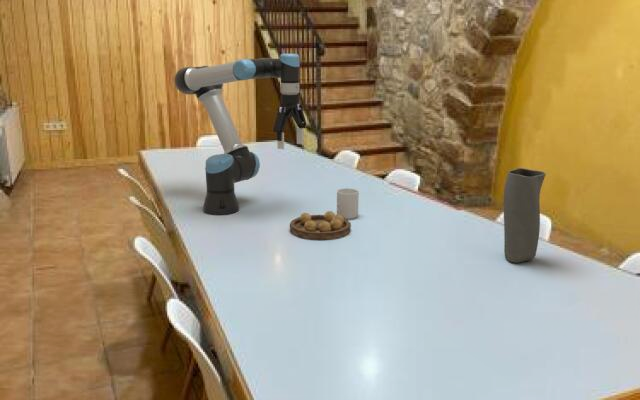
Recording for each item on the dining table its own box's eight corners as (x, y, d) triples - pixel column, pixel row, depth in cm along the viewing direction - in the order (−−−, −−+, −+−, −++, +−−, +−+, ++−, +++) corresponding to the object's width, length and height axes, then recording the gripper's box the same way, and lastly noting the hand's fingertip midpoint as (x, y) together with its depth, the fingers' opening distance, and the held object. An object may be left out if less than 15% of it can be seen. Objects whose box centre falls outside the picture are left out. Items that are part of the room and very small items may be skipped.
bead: (297, 225, 228) (297, 214, 226) (304, 221, 231) (303, 210, 230) (307, 226, 225) (307, 215, 224) (313, 223, 229) (313, 212, 228)
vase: (517, 268, 189) (527, 178, 181) (490, 256, 199) (498, 170, 191) (544, 262, 194) (555, 174, 186) (517, 250, 205) (525, 166, 197)
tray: (278, 233, 222) (278, 226, 221) (311, 218, 241) (311, 211, 240) (330, 244, 210) (330, 237, 209) (360, 227, 229) (360, 220, 228)
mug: (360, 219, 239) (361, 193, 236) (340, 220, 237) (340, 194, 234) (351, 211, 251) (352, 186, 248) (332, 212, 248) (332, 187, 245)
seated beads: (301, 232, 219) (301, 221, 217) (327, 220, 234) (327, 209, 233) (328, 238, 213) (328, 226, 211) (353, 225, 228) (353, 213, 227)
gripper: (279, 96, 221) (280, 151, 227) (314, 91, 241) (314, 142, 247) (263, 95, 225) (264, 150, 230) (299, 90, 245) (299, 141, 251)
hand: (290, 146), depth 239 cm, fingers open, 13 cm apart
